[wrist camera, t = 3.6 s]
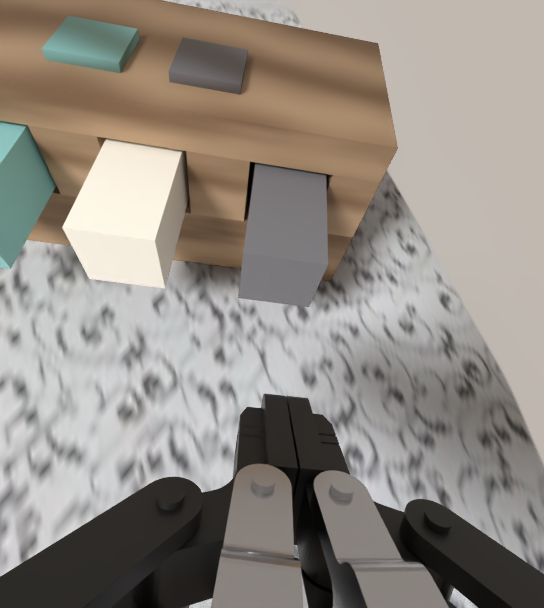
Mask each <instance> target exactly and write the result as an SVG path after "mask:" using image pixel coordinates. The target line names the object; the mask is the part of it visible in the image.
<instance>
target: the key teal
mask: <svg viewBox="0 0 544 608" xmlns="http://www.w3.org/2000/svg"><path fill="white" fill-rule="evenodd" d="M55 187H56V183H55V181H54V179H53V177H52V175H51V173H50V171H49V168H48V166H47V164H46V162H45V160H44V158H43V156H42V154H41V152H40V150H39V148H38V146H37V143H36V141H35V139H34V137H33V135H32V133H31V131H30V129H29V127H28V125H23V124H17V123H11V122H5V121H0V267H2V268H10V269H11V267H12V265H13V264H14V262H15V260H16V258H17V256H18V255H19V253H20V251H21V249H22V247H23V245H24V244H25V242H26V240H27V238H28V236H29V234H30V233H31V231H32V229H33V227H34V225H35V224H36V222H37V220H38V218H39V216H40V214H41V213H42V211H43V209H44V207H45V205H46V203H47V202H48V200H49V198H50V196H51V194H52V193H53V191H54V189H55Z"/></svg>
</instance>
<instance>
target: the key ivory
mask: <svg viewBox="0 0 544 608" xmlns="http://www.w3.org/2000/svg"><path fill="white" fill-rule="evenodd" d="M188 199H189V182H188V169H187V156H186V151H183V150H176V149H170V148H164V147H158V146H152V145H146V144H140V143H134V142H127V141H121V140H115V139H109V138H106V140H105V142H104V144H103V146H102V148H101V150H100V152H99V154H98V156H97V158H96V160H95V162H94V164H93V166H92V168H91V170H90V172H89V174H88V176H87V178H86V180H85V182H84V184H83V186H82V188H81V190H80V192H79V194H78V196H77V199H76V201H75V203H74V205H73V207H72V209H71V211H70V213H69V215H68V217H67V219H66V221H65V223H64V225H63V227H62V228H63V230H64V232H65V234H66V236H67V238H68V239H69V241H70V243H71V245H72V247H73V249H74V251H75V253H76V254H77V256H78V258H79V260H80V262H81V264H82V266H83V268H84V270H85V271H86V273H87V275H88V277H89V279H95V280H103V281H111V282H119V283H127V284H134V285H142V286H150V287H158V288H165V287H166V283H167V279H168V276H169V272H170V268H171V264H172V260H173V257H174V253H175V249H176V245H177V241H178V237H179V234H180V230H181V226H182V222H183V218H184V215H185V211H186V207H187V203H188Z"/></svg>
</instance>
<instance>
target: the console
mask: <svg viewBox="0 0 544 608" xmlns="http://www.w3.org/2000/svg"><path fill="white" fill-rule="evenodd" d="M0 121H5V122H11V123H17V124H23V125H28V127H29V129H30V131H31V133H32V135H33V137H34V139H35V141H36V143H37V146H38V148H39V150H40V152H41V154H42V156H43V158H44V160H45V162H46V164H47V166H48V168H49V171H50V173H51V175H52V177H53V179H54V181H55V183H56V187H55V189H54V191H53V193H52V194H51V196H50V198H49V200H48V202H47V203H46V205H45V207H44V209H43V211H42V213H41V214H40V216H39V218H38V220H37V222H36V224H35V225H34V227H33V229H32V231H31V233H30V234H29V236H28V238H27V240H34V241H41V242H48V243H56V244H63V245H70V246H72V245H71V243H70V241H69V239H68V238H67V236H66V234H65V232H64V230H63V228H62V227H63V225H64V223H65V221H66V219H67V217H68V215H69V213H70V211H71V209H72V207H73V205H74V203H75V201H76V199H77V196H78V194H79V192H80V190H81V188H82V186H83V184H84V182H85V180H86V178H87V176H88V174H89V172H90V170H91V168H92V166H93V164H94V162H95V160H96V158H97V156H98V154H99V152H100V150H101V148H102V146H103V144H104V142H105V140H106V138H109V139H115V140H121V141H127V142H134V143H140V144H146V145H152V146H158V147H164V148H170V149H176V150H183V151H186V156H187V169H188V182H189V199H188V203H187V207H186V211H185V215H184V218H183V222H182V226H181V230H180V234H179V237H178V241H177V245H176V249H175V253H174V257H173V259H174V260H181V261H188V262H196V263H203V264H210V265H218V266H225V267H232V268H240V269H242V260H243V252H244V244H245V237H246V229H247V222H248V215H249V207H250V200H251V192H252V185H253V177H254V170H255V162H256V163H262V164H268V165H275V166H281V167H287V168H293V169H299V170H305V171H311V172H317V173H324V174H326V190H327V235H328V266H327V268H326V270H325V273H324V275H323V277H322V279H321V280H328V281H331V279H332V277H333V275H334V273H335V271H336V269H337V267H338V265H339V263H340V261H341V259H342V257H343V255H344V253H345V251H346V249H347V247H348V245H349V243H350V242H351V240H352V238H353V236H354V234H355V232H356V230H357V228H358V226H359V224H360V222H361V220H362V218H363V216H364V214H365V212H366V210H367V208H368V206H369V204H370V202H371V200H372V198H373V196H374V194H375V192H376V190H377V188H378V186H379V184H380V182H381V180H382V178H383V176H384V174H385V172H386V170H387V168H388V166H389V164H390V162H391V160H392V158H393V157H394V155H395V153H396V151H397V149H398V147H397V141H396V136H395V131H394V125H393V120H392V115H391V110H390V104H389V99H388V94H387V88H386V83H385V78H384V72H383V67H382V62H381V56H380V51H379V46H378V43H373V42H368V41H363V40H358V39H353V38H348V37H343V36H338V35H332V34H328V33H323V32H318V31H313V30H308V29H303V28H298V27H293V26H288V25H283V24H278V23H273V22H268V21H263V20H258V19H253V18H248V17H243V16H238V15H233V14H228V13H223V12H218V11H213V10H208V9H203V8H198V7H193V6H188V5H183V4H177V3H172V2H167V1H162V0H0Z"/></svg>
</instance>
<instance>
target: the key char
mask: <svg viewBox="0 0 544 608" xmlns="http://www.w3.org/2000/svg"><path fill="white" fill-rule="evenodd" d="M327 266H328V235H327V190H326V174H324V173H317V172H311V171H305V170H299V169H293V168H287V167H281V166H275V165H268V164H262V163H256V162H255V170H254V177H253V185H252V192H251V200H250V207H249V215H248V222H247V229H246V237H245V244H244V252H243V260H242V269H241V278H240V286H239V295H238V298H243V299H251V300H259V301H267V302H274V303H282V304H290V305H298V306H306V307H309V305H310V303H311V301H312V299H313V296H314V294H315V292H316V290H317V288H318V286H319V283H320V281H321V279H322V277H323V275H324V273H325V270H326V268H327Z"/></svg>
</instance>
